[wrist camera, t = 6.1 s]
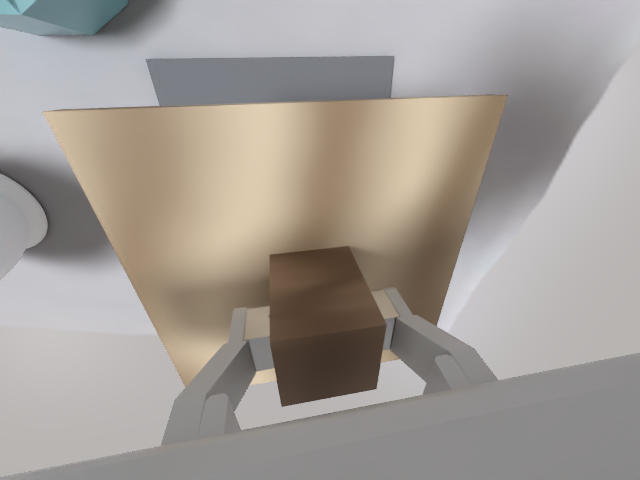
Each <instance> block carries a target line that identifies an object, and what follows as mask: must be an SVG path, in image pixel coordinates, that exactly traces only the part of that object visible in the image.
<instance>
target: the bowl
mask: <svg viewBox="0 0 640 480" xmlns="http://www.w3.org/2000/svg"><path fill="white" fill-rule="evenodd" d="M128 2H129V0H0V27H4V28H8V29H13V30H17V31H22V32H26V33H31V34H35V35H94V34H95V33H96V32H97V31H99V30H100V29H101V28H102V27H103V26H104V25H105V24H106V23H108V22H109V21H110V20H111V19H112V18H113V17H114V16H116V15H117V14H118V13H119V12H120V11H121V10H122V9H123V8H125V7H126V6H127V5H128Z"/></svg>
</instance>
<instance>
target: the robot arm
mask: <svg viewBox="0 0 640 480" xmlns="http://www.w3.org/2000/svg"><path fill="white" fill-rule="evenodd" d="M370 291H371V293H372V295H373V297H374V299H375V301H376V303H377V305H378V307H379V309H380V312H381V314H382V316H383V318H384V320H385V322H386V324H387V327H386V333H385V339H384V345H383V350H389V349H391V351H392V352H393V353H394V354H395V355H396V356H397V357H398V358H400V359H401V360H402V361H403V362H404V363H405V364H406V365H407V366H408V367H410V368H411V369H412V370H413V371H414V372H415V373H416V374H418V375H419V376H420V377H421V378H422V379H423V380H424V381H425V382H426V386H425V389H424V392H423V395H420V396H415V397H411V398H405V399H400V400H395V401H390V402H384V403H379V404H374V405H370V406H365V407H359V408H354V409H349V410H344V411H339V412H333V413H328V414H323V415H318V416H313V417H308V418H303V419H298V420H293V421H287V422H282V423H277V424H272V425H267V426H261V427H256V428H251V429H246V430H241V429H240V427H239V424H238V421H237V419H236V416H235V413H234V411H235V409H236V408H237V406H238V404H239V402H240V401H241V399H242V397H243V395H244V394H245V392H246V390H247V388H248V387H249V385H250V383H251V381H252V380H253V378H254V376H255V374H256V372H257V371H263V370H268V369H273V368H274V363H273V358H272V352H271V347H270V304H266V305H257V306H248V307H242V308H235V309H234V310H233V314H232V320H231V327H230V333H229V339H228V343H226V344H223V345H222V346H221V348H220V349H219V350H218V351H217V352H216V353H215V354H214V356H213V357H212V358H211V359H210V360H209V361H208V363H207V364H206V365H205V366H204V367H203V368H202V369H201V371H200V372H199V373H198V374H197V375H196V376H195V377H194V379H193V380H192V381H191V382H190V383H189V384H188V386H187V387H186V388H185V389H184V390H183V391H182V393H181V394H180V395H179V396H178V397H177V398H176V399H175V401H174V404H173V407H172V411H171V414H170V417H169V420H168V424H167V427H166V430H165V433H164V437H163V440H162V443H161V446H159V447H154V448H148V449H143V450H138V451H133V452H128V453H122V454H117V455H112V456H107V457H102V458H97V459H92V460H87V461H81V462H76V463H71V464H66V465H61V466H55V467H50V468H45V469H40V470H35V471H29V472H24V473H19V474H14V475H9V476H4V477H0V480H640V353H636V354H631V355H626V356H621V357H616V358H611V359H605V360H600V361H595V362H590V363H585V364H580V365H575V366H570V367H565V368H559V369H554V370H549V371H544V372H539V373H534V374H528V375H524V376H518V377H513V378H508V379H503V380H498V379H497V378H496V376H495V375H494V374H493V372H492V371H491V370H490V368H488V366H487V365H486V363H485V362H484V361H483V359H482V358H481V357H480V355H479V354H478V353H477V352H476V350H475V349H474V348H472V347H471V346H469V345H467V344H465V343H464V342H462V341H460V340H459V339H457V338H455V337H453V336H452V335H450V334H448V333H447V332H445V331H443V330H442V329H440V328H438V327H437V326H435V325H433V324H431V323H430V322H428V321H426V320H425V319H423V318H421V317H420V316H418V315H413V314H412V313H411V311H410V309H409V308H408V306H407V305H406V303H405V302H404V300H403V298H402V297H401V295H400V294H399V292H398V290H397V289H396V288H395V287H390V288H383V289H377V290H370Z"/></svg>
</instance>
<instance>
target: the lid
mask: <svg viewBox="0 0 640 480" xmlns="http://www.w3.org/2000/svg"><path fill="white" fill-rule="evenodd" d="M507 96H508V95H467V96H438V97H409V98H380V99H351V100H322V101H293V102H264V103H235V104H206V105H177V106H148V107H119V108H90V109H61V110H53V111H45V112H43V114H44V116H45V118H46V119H47V121H48V123H49V125H50V127H51V129H52V131H53V133H54V135H55V137H56V139H57V141H58V143H59V144H60V146H61V148H62V150H63V152H64V154H65V156H66V158H67V160H68V162H69V164H70V166H71V168H72V170H73V171H74V173H75V175H76V177H77V179H78V181H79V183H80V185H81V187H82V189H83V191H84V193H85V195H86V196H87V198H88V200H89V202H90V204H91V206H92V208H93V210H94V212H95V214H96V216H97V218H98V220H99V222H100V223H101V225H102V227H103V229H104V231H105V233H106V235H107V237H108V239H109V241H110V243H111V245H112V247H113V248H114V250H115V252H116V254H117V256H118V258H119V260H120V262H121V264H122V266H123V268H124V270H125V272H126V274H127V275H128V277H129V279H130V281H131V283H132V285H133V287H134V289H135V291H136V293H137V295H138V297H139V299H140V300H141V302H142V304H143V306H144V308H145V310H146V312H147V314H148V316H149V318H150V320H151V322H152V324H153V326H154V327H155V329H156V331H157V333H158V335H159V337H160V339H161V341H162V343H163V345H164V347H165V349H166V350H167V352H168V354H169V356H170V358H171V360H172V362H173V364H174V366H175V368H176V369H177V372H178V374H179V376H180V378H181V379H182V381H183V383H184V385H185V387H187V386H188V384H189V383H190V382H191V381H192V380H193V379H194V377H195V376H196V375H197V374H198V373H199V372H200V371H201V369H202V368H203V367H204V366H205V365H206V364H207V363H208V361H209V360H210V359H211V358H212V357H213V356H214V354H215V353H216V352H217V351H218V350H219V349H220V348H221V346H222V345H223V344H226V343H228V339H229V333H230V327H231V320H232V314H233V310H234V309H235V308H242V307H248V306H257V305H266V304H270V347H271V352H272V358H273V363H274V368H273V369H268V370H263V371H257V372H256V374H255V376H254V378H253V380H252V381H251V383H250V385H254V384H259V383H265V382H271V381H276V380H277V384H278V389H279V394H280V400H281V405H282V407H283V406H288V405H293V404H299V403H304V402H310V401H315V400H320V399H326V398H331V397H336V396H342V395H347V394H352V393H357V392H363V391H368V390H374V389H376V387H377V382H378V376H379V370H380V363H381V362H385V361H392V360H397V359H400V358H398V357H397V356H396V355H395V354H394V353H393V352H392V351H391V349H389V350H383V345H384V339H385V333H386V327H387V324H386V322H385V320H384V318H383V316H382V314H381V312H380V309H379V307H378V305H377V303H376V301H375V299H374V297H373V295H372V293H371V291H370V290H377V289H383V288H390V287H395V288H396V289H397V290H398V292H399V294H400V295H401V297H402V298H403V300H404V302H405V303H406V305H407V306H408V308H409V309H410V311H411V313H412V314H413V315H418V316H420V317H421V318H423V319H425V320H426V321H428V322H430V323H431V324H433V325H435V326H437V323H438V319H439V316H440V313H441V310H442V306H443V303H444V300H445V297H446V294H447V290H448V287H449V284H450V281H451V277H452V274H453V271H454V268H455V264H456V261H457V258H458V255H459V252H460V248H461V245H462V242H463V239H464V235H465V232H466V229H467V226H468V222H469V219H470V216H471V213H472V209H473V206H474V203H475V200H476V197H477V193H478V190H479V187H480V184H481V180H482V177H483V174H484V171H485V167H486V164H487V161H488V158H489V154H490V151H491V148H492V145H493V142H494V138H495V135H496V132H497V129H498V125H499V122H500V119H501V116H502V112H503V109H504V106H505V103H506V100H507Z"/></svg>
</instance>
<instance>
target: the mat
mask: <svg viewBox="0 0 640 480" xmlns="http://www.w3.org/2000/svg"><path fill="white" fill-rule="evenodd" d="M146 62H147V65H148V68H149V72H150V75H151V78H152V82H153V85H154V88H155V91H156V95H157V98H158V101H159V105H160V106H177V105H206V104H235V103H264V102H293V101H322V100H351V99H380V98H390V92H391V82H392V73H393V63H394V56H356V57H274V58H192V59H146Z"/></svg>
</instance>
